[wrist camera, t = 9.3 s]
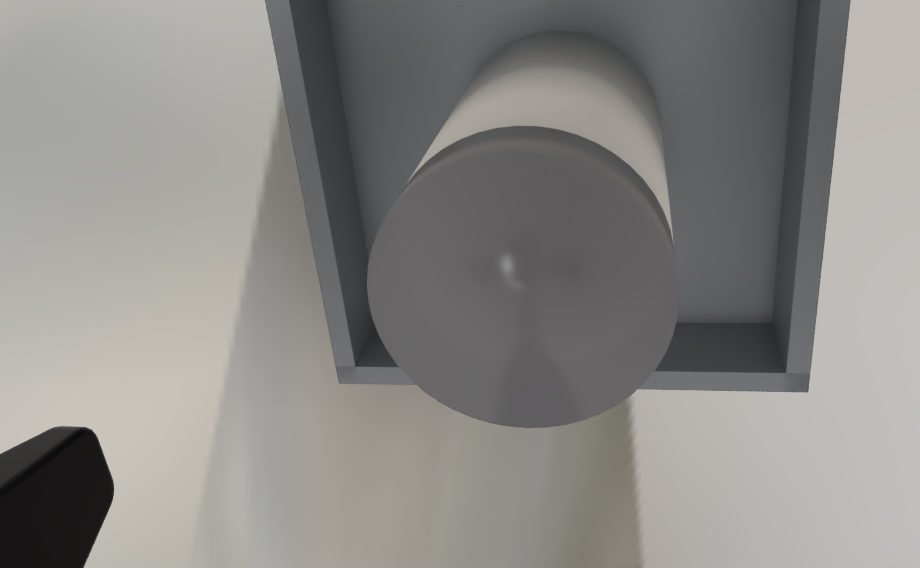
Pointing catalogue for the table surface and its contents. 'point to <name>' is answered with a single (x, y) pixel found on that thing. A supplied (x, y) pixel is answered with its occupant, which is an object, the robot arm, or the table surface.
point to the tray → (684, 142)
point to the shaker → (534, 241)
